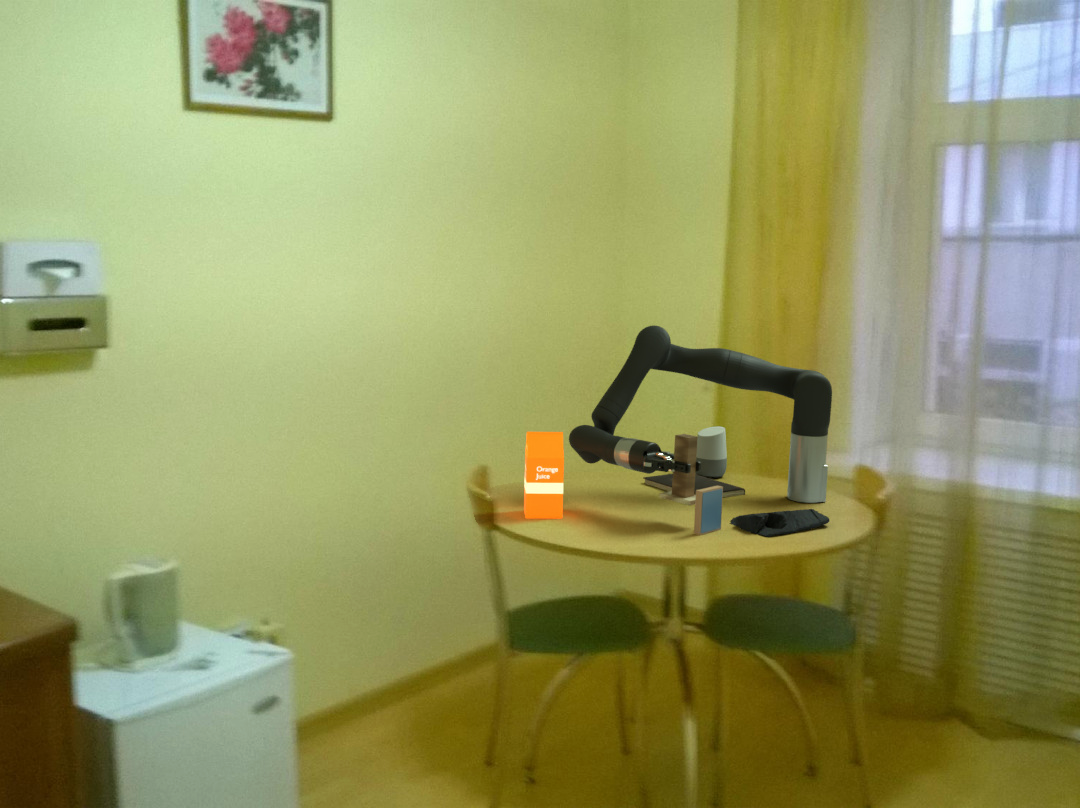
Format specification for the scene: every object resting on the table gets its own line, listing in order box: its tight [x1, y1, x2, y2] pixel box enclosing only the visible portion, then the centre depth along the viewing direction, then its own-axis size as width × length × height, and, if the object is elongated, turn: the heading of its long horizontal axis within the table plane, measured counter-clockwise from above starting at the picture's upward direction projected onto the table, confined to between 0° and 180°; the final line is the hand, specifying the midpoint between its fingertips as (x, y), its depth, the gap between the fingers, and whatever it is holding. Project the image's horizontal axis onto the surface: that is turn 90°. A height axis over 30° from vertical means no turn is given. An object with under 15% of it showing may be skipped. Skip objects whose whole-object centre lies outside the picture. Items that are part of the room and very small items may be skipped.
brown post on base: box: [658, 433, 698, 506], centre depth 245 cm, size 9×6×15 cm, turn 44°
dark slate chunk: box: [729, 508, 830, 538], centre depth 249 cm, size 15×22×5 cm
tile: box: [693, 485, 724, 536], centre depth 242 cm, size 2×8×10 cm, turn 134°
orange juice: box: [523, 431, 565, 519], centre depth 253 cm, size 8×9×20 cm
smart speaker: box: [695, 426, 728, 479], centre depth 301 cm, size 10×9×14 cm
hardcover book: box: [642, 473, 746, 498], centre depth 285 cm, size 16×23×2 cm
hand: (694, 467), depth 243 cm, fingers closed on brown post on base, 3 cm apart
